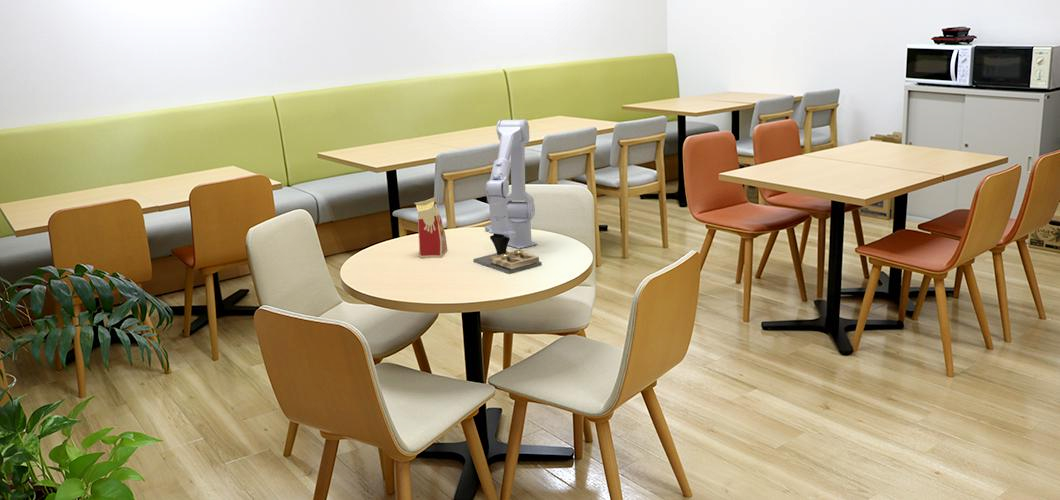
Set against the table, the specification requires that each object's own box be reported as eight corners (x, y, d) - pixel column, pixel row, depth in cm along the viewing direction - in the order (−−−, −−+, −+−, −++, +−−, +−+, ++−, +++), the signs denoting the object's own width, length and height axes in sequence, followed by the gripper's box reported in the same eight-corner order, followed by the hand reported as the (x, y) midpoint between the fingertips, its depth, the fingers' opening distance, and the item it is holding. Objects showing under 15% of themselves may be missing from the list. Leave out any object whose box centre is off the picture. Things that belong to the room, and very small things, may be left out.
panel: (489, 262, 291) (489, 257, 291) (517, 255, 297) (516, 250, 297) (511, 269, 282) (511, 264, 281) (539, 261, 288) (538, 257, 288)
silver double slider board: (473, 261, 297) (472, 249, 296) (505, 253, 305) (504, 241, 304) (508, 273, 282) (508, 261, 281) (541, 265, 289) (540, 252, 288)
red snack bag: (447, 250, 313) (442, 194, 308) (442, 257, 305) (437, 200, 299) (422, 251, 314) (416, 195, 309) (416, 258, 306) (410, 200, 300)
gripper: (476, 214, 295) (479, 254, 298) (501, 221, 283) (504, 262, 287) (493, 210, 299) (496, 250, 302) (519, 217, 287) (522, 258, 291)
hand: (501, 256), depth 295 cm, fingers closed
